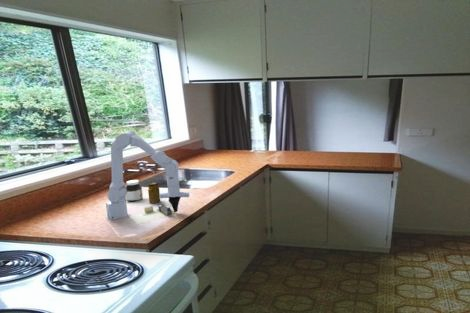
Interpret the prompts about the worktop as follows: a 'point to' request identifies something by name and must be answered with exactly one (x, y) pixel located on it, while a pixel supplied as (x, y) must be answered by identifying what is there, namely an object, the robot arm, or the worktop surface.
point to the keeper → (148, 209)
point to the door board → (149, 216)
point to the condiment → (153, 193)
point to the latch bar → (165, 209)
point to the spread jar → (133, 191)
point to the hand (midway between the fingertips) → (175, 211)
